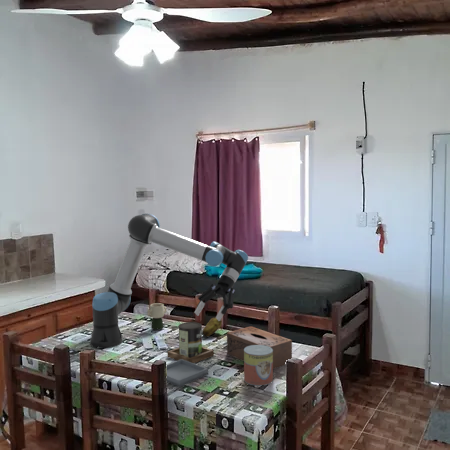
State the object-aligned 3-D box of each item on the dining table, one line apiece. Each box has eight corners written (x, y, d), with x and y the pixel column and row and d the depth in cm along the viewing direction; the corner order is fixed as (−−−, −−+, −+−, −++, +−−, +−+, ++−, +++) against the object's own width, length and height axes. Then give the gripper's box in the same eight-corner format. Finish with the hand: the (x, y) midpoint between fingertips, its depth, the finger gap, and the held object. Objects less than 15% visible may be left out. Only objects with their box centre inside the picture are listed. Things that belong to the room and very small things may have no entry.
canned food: (252, 388, 176) (251, 356, 175) (239, 376, 187) (238, 347, 186) (278, 382, 181) (278, 352, 180) (264, 372, 191) (264, 343, 190)
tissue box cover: (227, 354, 212) (226, 332, 211) (250, 347, 221) (250, 326, 220) (267, 371, 192) (267, 347, 191) (291, 363, 201) (291, 340, 200)
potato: (196, 335, 238) (196, 319, 238) (216, 330, 246) (216, 315, 246) (206, 339, 232) (206, 323, 231) (226, 333, 240) (226, 318, 239)
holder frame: (167, 356, 209) (167, 351, 209) (191, 348, 219) (191, 343, 219) (190, 365, 199) (190, 359, 199) (213, 355, 210) (213, 350, 210)
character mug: (163, 325, 255) (162, 301, 254) (169, 328, 249) (169, 304, 248) (144, 329, 249) (144, 305, 248) (151, 332, 243) (150, 307, 242)
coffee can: (204, 353, 213) (204, 322, 212) (199, 361, 203) (198, 329, 202) (182, 351, 215) (182, 321, 214) (176, 359, 205) (175, 328, 204)
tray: (152, 376, 188) (152, 370, 188) (181, 364, 200) (181, 358, 199) (179, 387, 178) (179, 380, 177) (208, 374, 189) (208, 368, 189)
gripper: (252, 287, 219) (231, 326, 209) (213, 280, 236) (191, 316, 226) (244, 277, 215) (223, 317, 205) (205, 271, 231) (183, 307, 221)
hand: (206, 316), depth 215 cm, fingers open, 13 cm apart
